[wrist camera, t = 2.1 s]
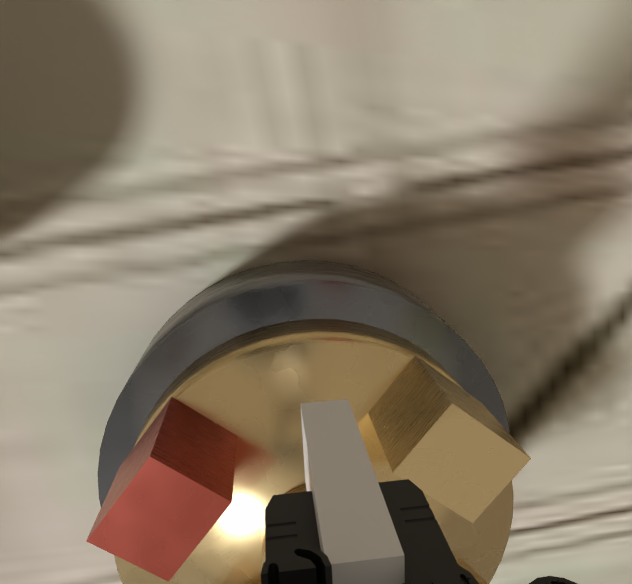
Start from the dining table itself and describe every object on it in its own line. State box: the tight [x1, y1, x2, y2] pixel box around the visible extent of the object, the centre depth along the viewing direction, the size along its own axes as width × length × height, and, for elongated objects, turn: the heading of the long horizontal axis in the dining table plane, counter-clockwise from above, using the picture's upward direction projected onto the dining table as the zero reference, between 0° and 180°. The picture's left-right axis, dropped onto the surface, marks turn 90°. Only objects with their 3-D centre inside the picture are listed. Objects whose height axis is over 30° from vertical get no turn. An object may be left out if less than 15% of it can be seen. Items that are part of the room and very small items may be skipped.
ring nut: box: [87, 319, 531, 584], centre depth 21 cm, size 17×17×7 cm
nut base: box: [98, 261, 510, 507], centre depth 27 cm, size 20×20×5 cm
